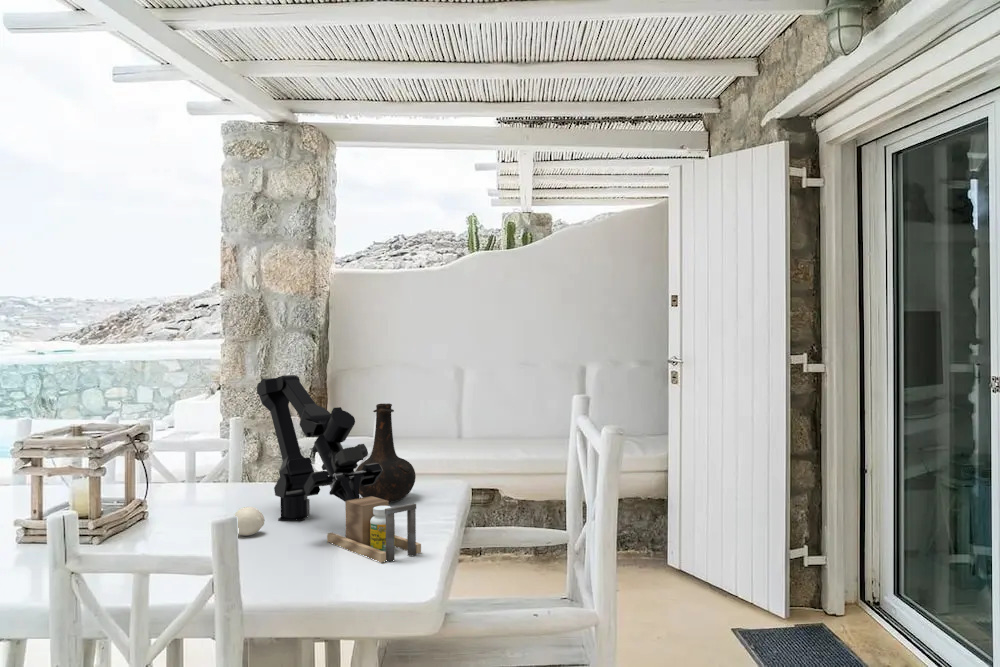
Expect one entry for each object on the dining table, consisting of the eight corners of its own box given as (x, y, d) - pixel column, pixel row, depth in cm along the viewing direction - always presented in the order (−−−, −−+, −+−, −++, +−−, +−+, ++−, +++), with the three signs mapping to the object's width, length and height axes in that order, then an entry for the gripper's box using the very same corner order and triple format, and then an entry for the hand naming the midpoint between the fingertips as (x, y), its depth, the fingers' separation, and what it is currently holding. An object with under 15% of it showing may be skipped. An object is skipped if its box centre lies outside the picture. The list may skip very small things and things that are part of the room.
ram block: (345, 544, 166) (345, 500, 166) (371, 538, 170) (371, 496, 170) (362, 551, 160) (362, 506, 160) (388, 544, 165) (388, 500, 165)
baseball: (262, 537, 172) (262, 509, 172) (230, 539, 171) (230, 511, 171) (266, 530, 179) (266, 503, 179) (234, 532, 177) (234, 504, 177)
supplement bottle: (398, 548, 163) (398, 505, 163) (388, 555, 158) (388, 511, 158) (377, 546, 164) (377, 503, 164) (365, 553, 159) (365, 509, 159)
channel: (327, 542, 168) (327, 494, 168) (365, 533, 175) (365, 487, 175) (383, 564, 152) (382, 511, 152) (423, 553, 159) (422, 503, 159)
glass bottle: (388, 510, 199) (387, 407, 199) (340, 502, 208) (339, 405, 208) (428, 497, 214) (427, 402, 214) (381, 491, 223) (381, 400, 223)
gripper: (309, 437, 166) (335, 493, 158) (378, 429, 179) (405, 480, 170) (293, 468, 171) (317, 523, 163) (361, 458, 184) (386, 509, 176)
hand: (358, 508), depth 168 cm, fingers closed, pressing on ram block
